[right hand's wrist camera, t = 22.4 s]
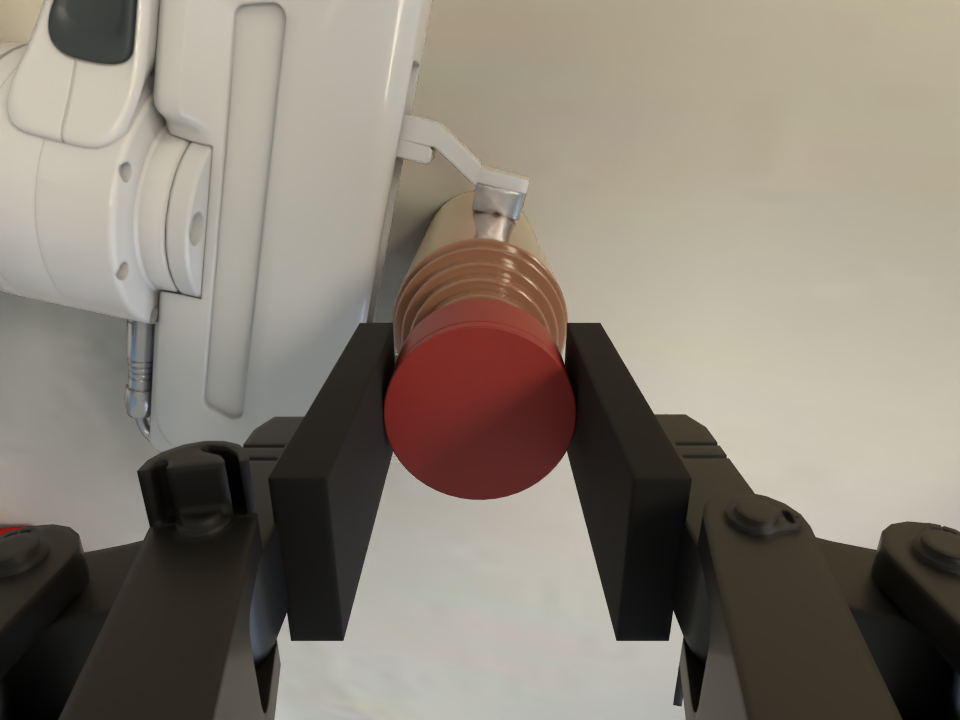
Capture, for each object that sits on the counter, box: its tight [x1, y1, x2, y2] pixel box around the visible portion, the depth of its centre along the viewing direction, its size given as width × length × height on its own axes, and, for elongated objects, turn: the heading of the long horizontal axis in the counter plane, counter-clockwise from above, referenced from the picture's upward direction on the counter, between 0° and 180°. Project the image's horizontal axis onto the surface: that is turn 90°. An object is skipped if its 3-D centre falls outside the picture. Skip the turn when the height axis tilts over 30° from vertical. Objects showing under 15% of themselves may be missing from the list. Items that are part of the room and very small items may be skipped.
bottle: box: [392, 191, 568, 355], centre depth 21 cm, size 5×5×18 cm
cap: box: [383, 299, 577, 500], centre depth 13 cm, size 4×4×2 cm
